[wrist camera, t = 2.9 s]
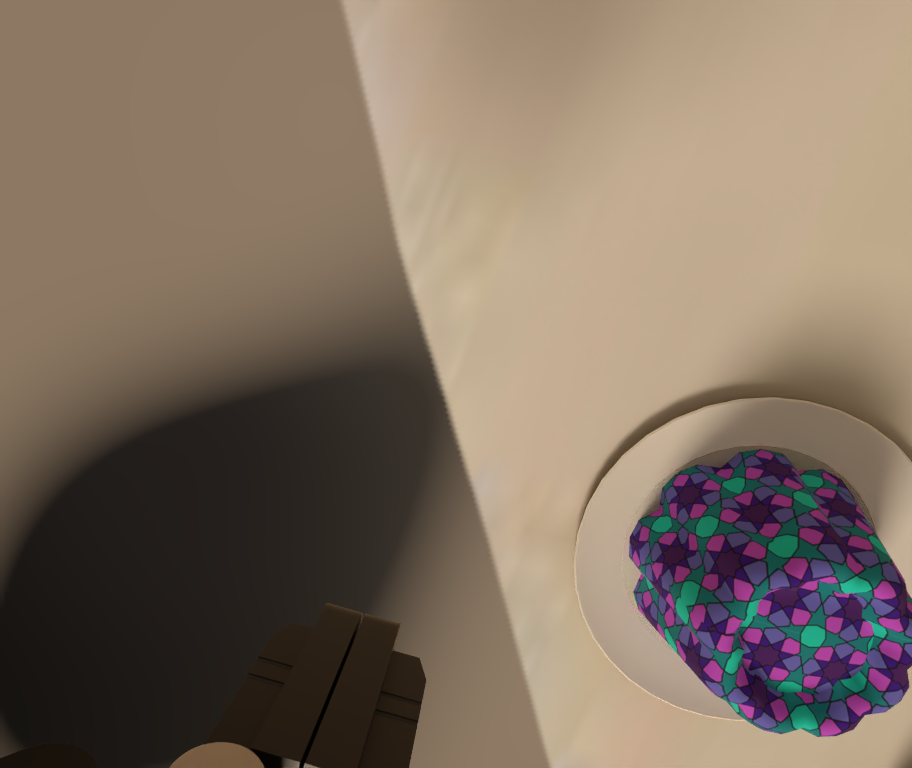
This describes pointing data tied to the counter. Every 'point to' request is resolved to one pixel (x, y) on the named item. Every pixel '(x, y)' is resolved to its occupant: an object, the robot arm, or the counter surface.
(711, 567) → the pudding
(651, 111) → the counter surface
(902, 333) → the counter surface
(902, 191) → the counter surface
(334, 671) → the robot arm
